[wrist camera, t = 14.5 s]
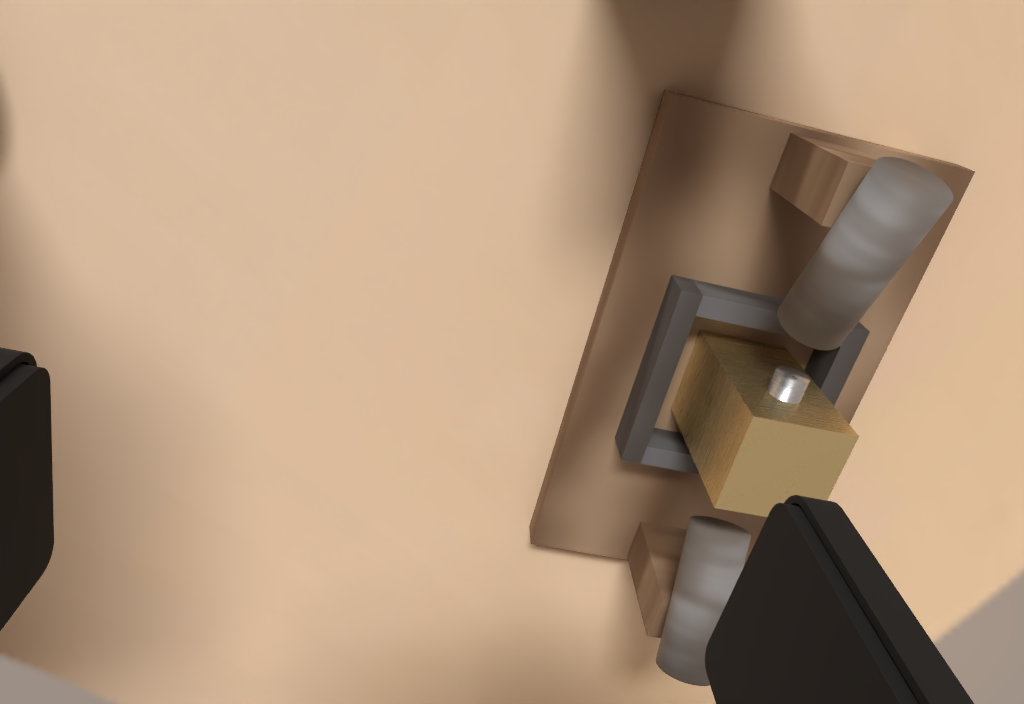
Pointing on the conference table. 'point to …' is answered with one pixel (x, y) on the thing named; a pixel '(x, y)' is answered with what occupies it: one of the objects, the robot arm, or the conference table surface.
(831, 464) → the block
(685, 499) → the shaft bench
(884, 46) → the conference table surface
